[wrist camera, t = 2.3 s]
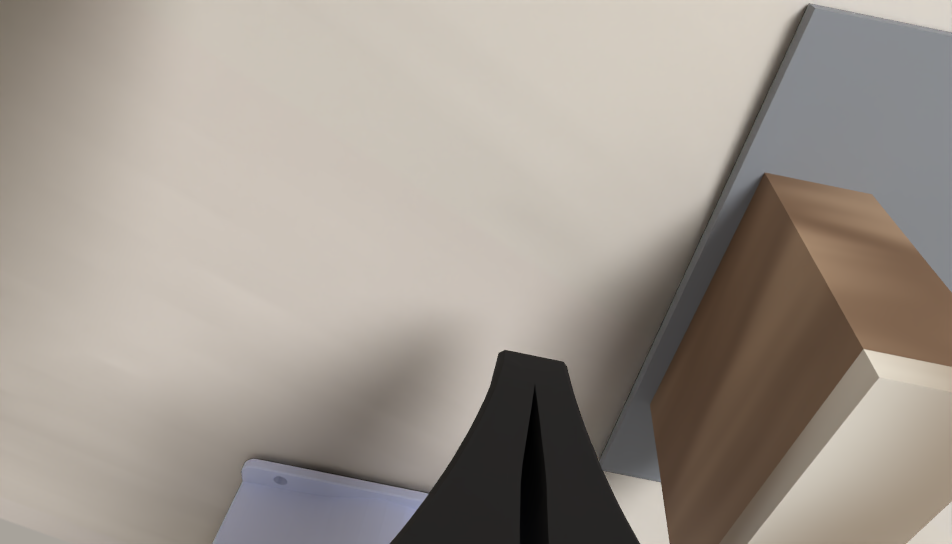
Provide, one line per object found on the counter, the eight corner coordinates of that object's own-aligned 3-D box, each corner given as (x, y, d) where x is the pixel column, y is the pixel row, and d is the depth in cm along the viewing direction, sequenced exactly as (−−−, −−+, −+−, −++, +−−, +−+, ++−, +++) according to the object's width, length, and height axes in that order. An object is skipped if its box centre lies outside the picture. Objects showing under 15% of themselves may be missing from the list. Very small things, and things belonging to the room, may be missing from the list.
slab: (649, 404, 19) (681, 626, 14) (764, 172, 14) (878, 377, 9) (730, 421, 19) (792, 649, 14) (871, 194, 14) (1047, 411, 9)
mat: (599, 460, 21) (599, 470, 21) (808, 3, 13) (815, 8, 12) (885, 517, 21) (889, 528, 21) (1296, 103, 13) (1316, 110, 12)
